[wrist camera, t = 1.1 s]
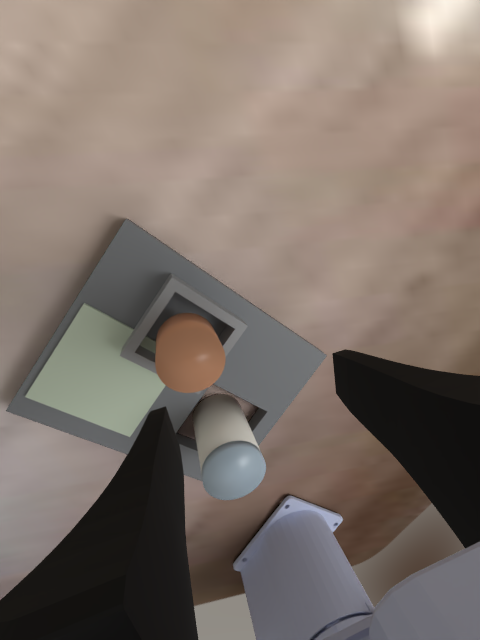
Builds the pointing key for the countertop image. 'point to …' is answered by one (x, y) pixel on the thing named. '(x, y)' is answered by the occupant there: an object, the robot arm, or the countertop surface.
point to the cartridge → (226, 448)
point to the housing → (140, 350)
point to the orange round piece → (188, 353)
